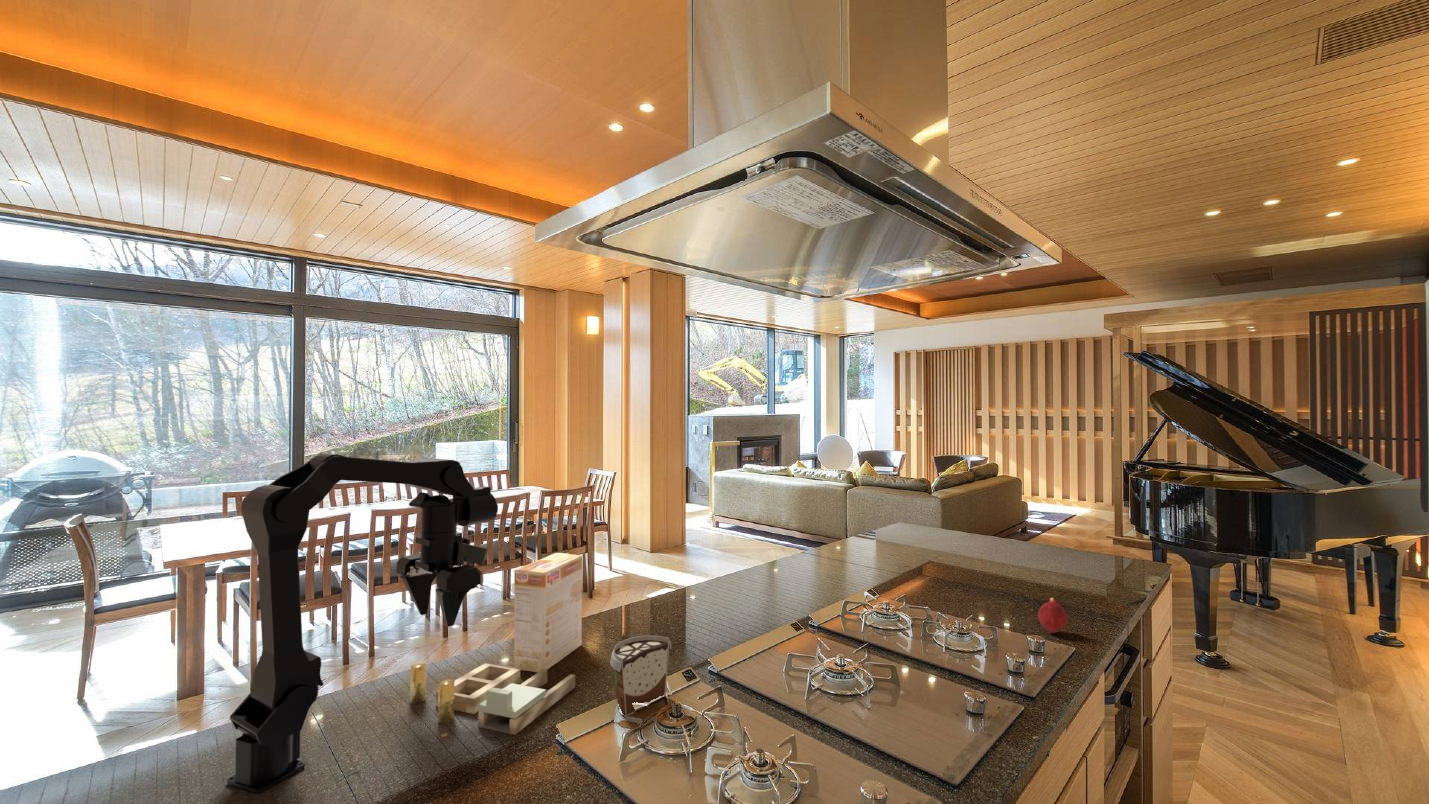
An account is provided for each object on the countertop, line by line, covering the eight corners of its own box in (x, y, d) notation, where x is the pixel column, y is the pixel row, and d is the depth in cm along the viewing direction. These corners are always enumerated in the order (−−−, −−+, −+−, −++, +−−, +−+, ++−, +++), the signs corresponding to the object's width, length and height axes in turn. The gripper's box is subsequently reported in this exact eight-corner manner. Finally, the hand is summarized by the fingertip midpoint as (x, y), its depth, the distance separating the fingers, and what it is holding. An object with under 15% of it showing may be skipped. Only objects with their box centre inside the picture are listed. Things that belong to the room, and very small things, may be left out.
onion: (1072, 638, 133) (1072, 602, 133) (1046, 638, 133) (1046, 602, 133) (1058, 628, 138) (1058, 594, 139) (1033, 628, 139) (1033, 594, 139)
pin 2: (446, 724, 95) (446, 687, 95) (434, 722, 96) (434, 684, 96) (457, 717, 97) (457, 680, 97) (445, 715, 98) (446, 678, 98)
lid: (515, 718, 92) (515, 696, 92) (478, 711, 94) (478, 689, 94) (545, 695, 100) (545, 674, 100) (511, 689, 102) (511, 668, 102)
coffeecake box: (554, 641, 130) (555, 552, 130) (583, 645, 128) (584, 554, 128) (511, 669, 115) (512, 569, 116) (543, 674, 113) (544, 572, 114)
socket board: (474, 714, 98) (474, 698, 98) (436, 706, 101) (436, 691, 101) (520, 683, 110) (520, 669, 110) (484, 676, 112) (485, 663, 112)
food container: (647, 683, 110) (647, 629, 110) (671, 693, 106) (671, 637, 106) (594, 709, 100) (595, 649, 100) (618, 721, 96) (619, 659, 96)
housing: (514, 734, 92) (515, 720, 92) (478, 726, 94) (478, 713, 94) (575, 687, 108) (575, 675, 108) (542, 681, 110) (542, 669, 110)
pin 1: (417, 704, 101) (418, 669, 101) (406, 702, 102) (407, 667, 102) (428, 698, 104) (429, 664, 104) (418, 696, 104) (418, 662, 104)
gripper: (510, 530, 104) (508, 619, 104) (455, 518, 116) (453, 598, 115) (449, 540, 96) (447, 637, 95) (396, 526, 107) (393, 613, 107)
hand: (436, 620), depth 103 cm, fingers open, 9 cm apart
